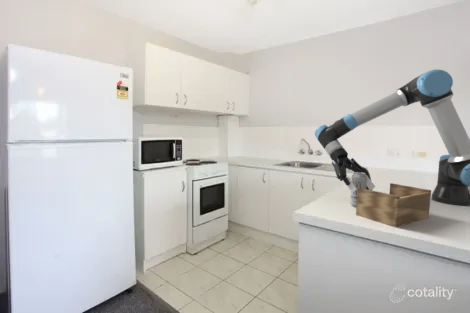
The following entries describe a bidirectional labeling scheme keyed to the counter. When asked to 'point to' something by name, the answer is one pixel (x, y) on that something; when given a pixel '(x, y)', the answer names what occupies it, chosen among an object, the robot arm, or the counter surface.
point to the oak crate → (394, 205)
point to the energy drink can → (358, 186)
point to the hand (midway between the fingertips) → (364, 189)
